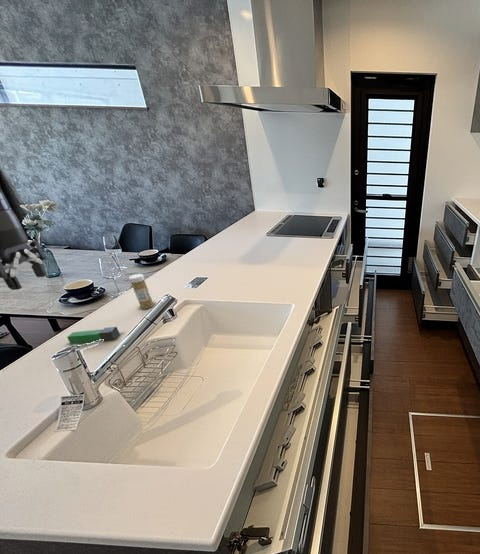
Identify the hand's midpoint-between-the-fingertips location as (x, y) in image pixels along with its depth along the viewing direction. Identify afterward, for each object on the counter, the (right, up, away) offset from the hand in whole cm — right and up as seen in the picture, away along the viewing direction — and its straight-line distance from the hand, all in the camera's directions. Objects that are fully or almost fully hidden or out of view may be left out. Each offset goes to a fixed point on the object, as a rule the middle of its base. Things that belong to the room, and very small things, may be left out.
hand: (30, 282), depth 87 cm
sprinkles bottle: (+8, -10, +35) cm, 37 cm away
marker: (+5, -19, +15) cm, 25 cm away
